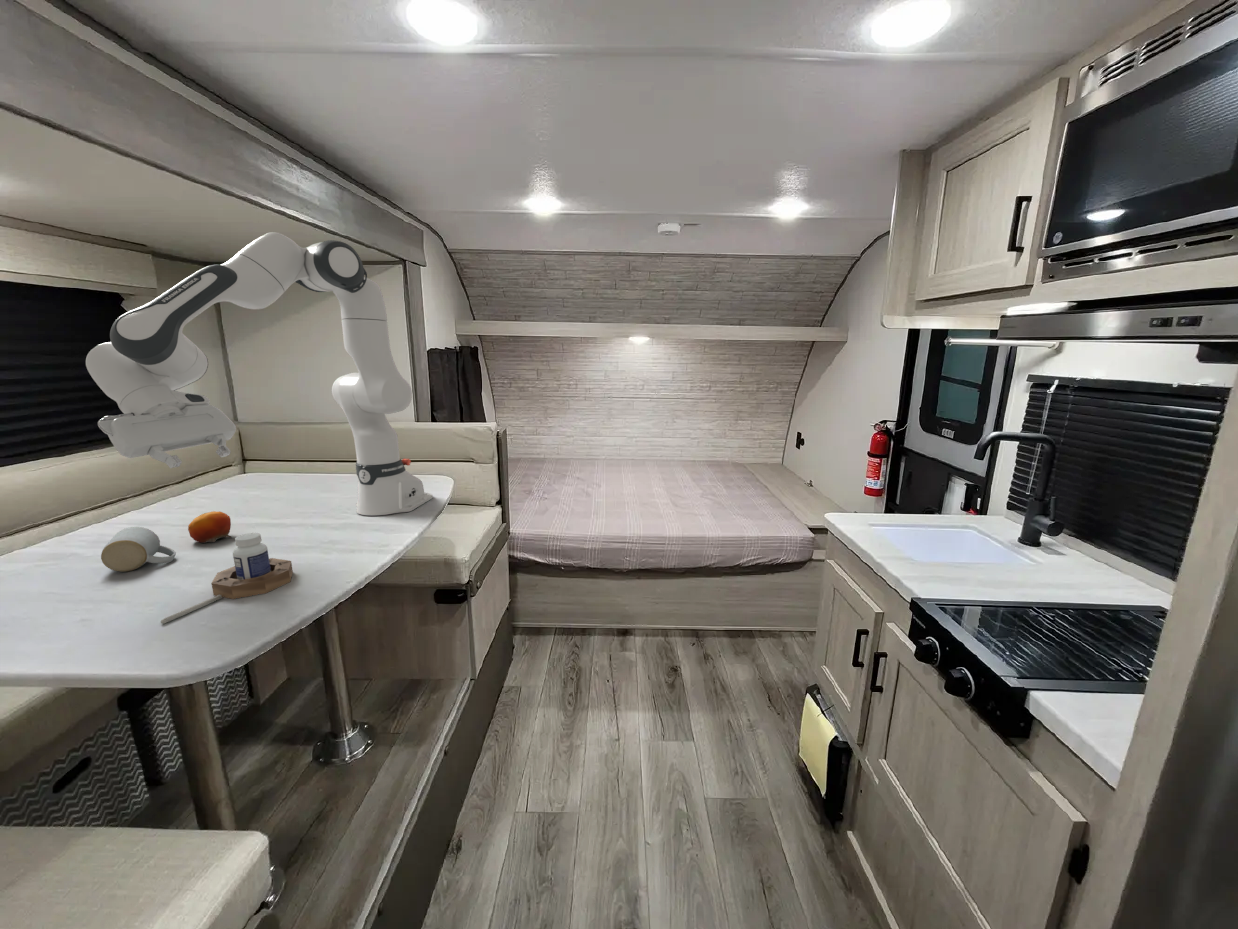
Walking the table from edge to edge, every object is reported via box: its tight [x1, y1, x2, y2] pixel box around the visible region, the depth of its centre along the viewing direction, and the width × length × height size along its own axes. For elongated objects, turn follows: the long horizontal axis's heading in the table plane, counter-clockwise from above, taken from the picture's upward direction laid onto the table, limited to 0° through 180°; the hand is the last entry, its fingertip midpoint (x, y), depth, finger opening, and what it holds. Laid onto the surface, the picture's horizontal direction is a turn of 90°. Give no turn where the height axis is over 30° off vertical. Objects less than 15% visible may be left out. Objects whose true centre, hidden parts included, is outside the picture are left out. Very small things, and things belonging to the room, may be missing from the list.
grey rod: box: [160, 595, 223, 625], centre depth 86 cm, size 9×1×1 cm, turn 164°
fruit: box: [187, 510, 232, 544], centre depth 119 cm, size 8×8×8 cm
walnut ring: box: [211, 557, 294, 600], centre depth 96 cm, size 12×12×2 cm
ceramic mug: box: [100, 526, 177, 573], centre depth 104 cm, size 11×8×8 cm
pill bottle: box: [232, 532, 271, 580], centre depth 95 cm, size 5×5×10 cm
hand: (202, 459), depth 100 cm, fingers open, 8 cm apart
